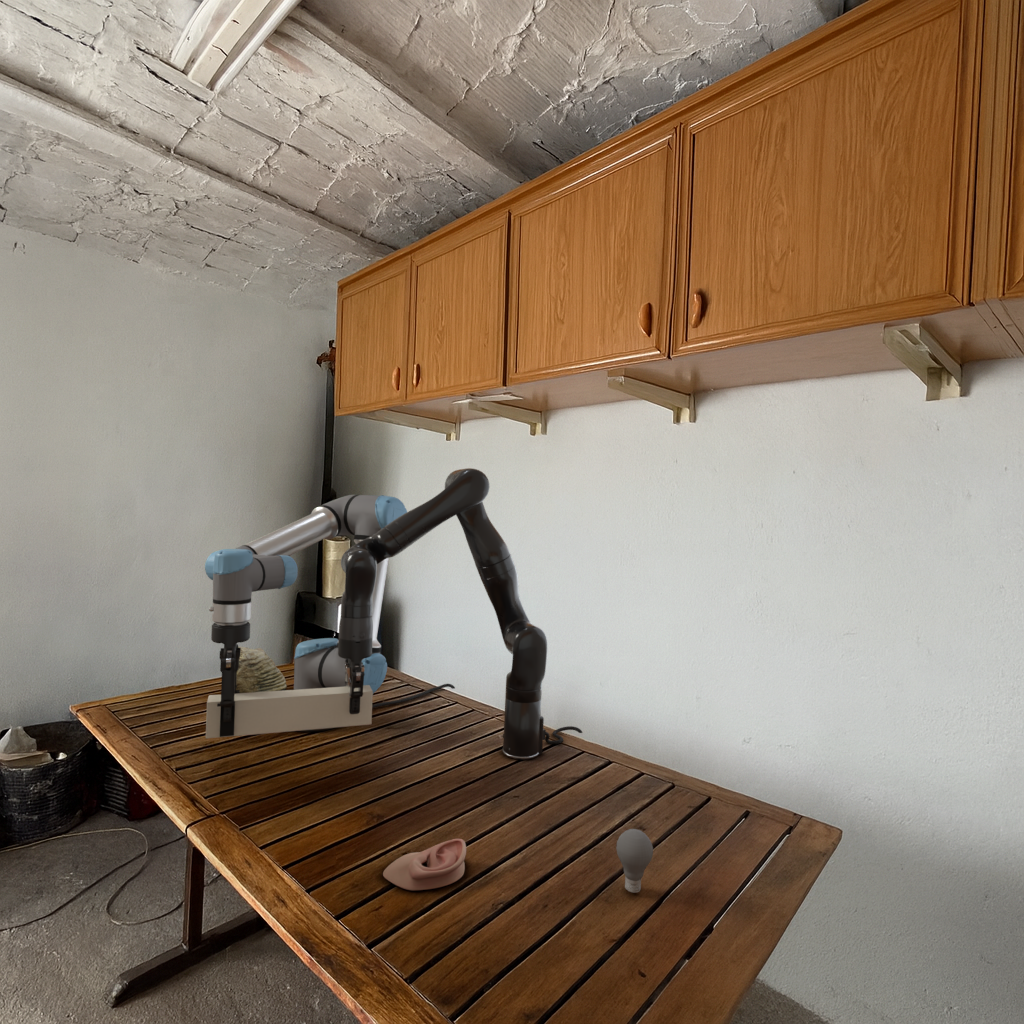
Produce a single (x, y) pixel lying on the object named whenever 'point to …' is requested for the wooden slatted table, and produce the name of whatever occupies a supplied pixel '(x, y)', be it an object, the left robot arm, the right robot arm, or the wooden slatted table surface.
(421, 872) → the anatomical model
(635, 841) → the light bulb
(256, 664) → the fossil
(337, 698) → the beam
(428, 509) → the right robot arm
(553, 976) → the wooden slatted table surface
